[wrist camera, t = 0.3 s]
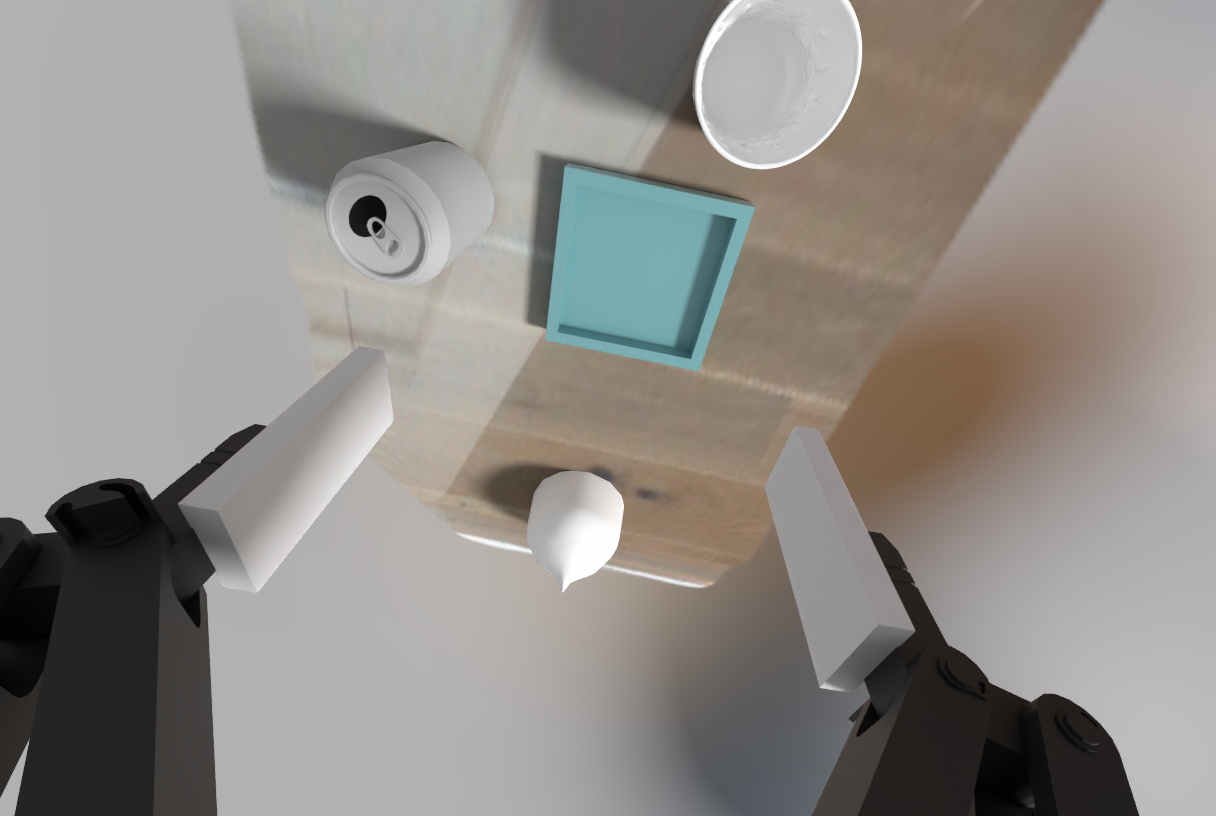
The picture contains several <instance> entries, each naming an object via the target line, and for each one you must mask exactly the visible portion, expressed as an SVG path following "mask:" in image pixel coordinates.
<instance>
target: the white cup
mask: <svg viewBox="0 0 1216 816" xmlns="http://www.w3.org/2000/svg"><path fill="white" fill-rule="evenodd" d="M861 60H862V40H861V32H860V27H859V23H858V20H857V17H856V14H855V12H854V9H853V7H852V5H851V4H850V2H849V0H732V1H731V2H730V3H729V4H728V5H727V6H726V8H725V9H724V10H723V11H722V13H721V14H720V15H719V17H718V18H717V20H716V21H715V23H714V24H713V26H712V28H711V30H710V31H709V33H708V35H707V38H706V40H705V42H704V44H703V46H702V48H701V50H700V53H699V56H698V59H697V62H696V66H695V70H694V76H693V102H694V107H695V111H696V115H697V118H698V120H699V122H700V124H701V127H702V129H703V131H704V133H705V135H706V137H707V139H708V140H709V142H710V143H711V144H712V146H713V147H714V148H715V149H716V150H717V151H718V152H719V153H720V154H721V155H722V156H724V157H725V158H726V159H728V160H729V161H731V162H733V163H735V164H738V165H740V166H743V167H747V168H753V169H770V168H776V167H780V166H784V165H787V164H789V163H792V162H794V161H796V160H798V159H800V158H802V157H803V156H805V155H807V154H808V153H809V152H811V151H812V150H814V149H815V148H816V147H817V146H818V145H819V144H821V143H822V142H823V141H824V140H825V139H826V138H827V137H828V136H829V134H830V133H831V132H832V131H833V130H834V128H835V127H836V126H837V124H838V123H839V121H840V120H841V118H842V117H843V115H844V113H845V112H846V110H847V108H848V106H849V104H850V102H851V99H852V97H853V94H854V92H855V89H856V86H857V82H858V78H859V74H860V68H861Z"/></svg>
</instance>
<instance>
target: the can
mask: <svg viewBox="0 0 1216 816" xmlns="http://www.w3.org/2000/svg"><path fill="white" fill-rule="evenodd" d="M494 210H495V209H494V193H493V190H492V187H491V184H490V181H489V178H488V176H487V175H486V173H485V172H484V170H483V168H482V167H481V165H480V164H479V162H478V161H477V160H475V159H474V158H473V157H472V156H471V155H470V154H469V153H468V152H466V151H465V150H464V149H462V148H459V147H457V146H455V145H453V144H451V143H447V142H439V141H431V142H427V143H423V144H419V145H415V146H411V147H407V148H402V149H398V150H394V151H390V152H386V153H382V154H378V155H374V156H370V157H366V158H362V159H358V160H355V161H351V162H349V163H348V164H347V165H346V166H345V167H343V168H342V169H341V170H340V171H339V172H338V173H337V174H336V176H335V178H334V180H333V183H332V185H331V187H330V189H329V194H328V197H327V199H326V201H325V221H326V225H327V229H328V233H329V236H330V238H331V239H332V241H333V243H334V245H335V247H336V249H337V250H338V252H339V253H340V254H341V255H342V256H343V258H344V259H345V260H346V261H347V262H348V263H349V264H350V265H351V266H352V267H353V268H355V269H356V270H357V271H359V272H360V273H362V274H363V275H364V276H366V277H369V278H371V279H374V280H376V281H378V282H381V283H389V284H398V285H406V286H411V285H416V284H421V283H425V282H427V281H428V280H430V279H431V278H433V277H434V276H436V275H437V274H439V273H440V272H441V271H442V270H443V269H445V268H446V267H447V266H448V265H449V264H450V263H451V262H453V261H454V260H455V259H456V258H457V257H458V256H460V255H461V254H462V253H463V252H464V251H465V250H467V249H468V248H469V247H470V246H471V245H472V244H474V243H475V242H476V241H477V240H478V239H479V238H481V237H482V236H483V235H484V233H485V232H486V230H487V229H488V227H489V226H490V225H491V221H492V218H493V214H494Z"/></svg>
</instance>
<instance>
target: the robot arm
mask: <svg viewBox="0 0 1216 816" xmlns="http://www.w3.org/2000/svg"><path fill="white" fill-rule="evenodd" d="M393 421H394V419H393V412H392V405H391V397H390V390H389V383H388V376H387V369H386V361H385V354H384V351H382V350H377V349H371V348H366V347H360V346H359V347H358V348H357V349H356V350H355V351H354V352H352V353H351V354H350V355H349V356H348V357H347V358H346V359H344V360H343V361H342V362H341V363H340V364H339V365H337V366H336V367H335V368H334V369H333V370H332V371H331V372H329V373H328V374H327V375H326V376H325V377H324V378H322V379H321V380H320V381H319V382H318V383H317V384H316V385H314V386H313V387H312V388H311V389H310V390H309V391H307V392H306V393H305V394H304V395H303V396H302V397H300V398H299V399H298V400H297V401H296V402H295V403H294V404H293V405H291V406H290V407H289V408H288V409H287V410H285V411H284V412H283V413H282V414H281V415H280V416H279V417H278V418H276V419H275V420H274V421H273V422H272V423H270V425H268V426H263V425H258V424H254V425H252V426H250V427H248V428H246V429H244V430H242V431H239V432H237V433H235V434H233V435H231V436H230V437H229V438H228V439H227V440H225V441H224V442H223V443H222V444H221V445H219V446H218V447H217V448H216V449H215V451H214V452H211V453H210V454H208V455H207V456H206V457H204V458H203V459H202V460H201V463H200V464H199V463H197V464H196V465H195V466H193V467H192V468H191V469H190V470H189V471H187V472H186V473H185V474H184V475H182V476H181V477H180V478H179V479H177V480H176V481H175V482H174V483H173V484H171V485H170V486H169V487H168V488H166V489H165V490H164V491H163V492H162V493H160V494H159V495H158V496H157V497H155V498H154V499H153V500H152V499H151V498H150V496H149V494H148V493H147V491H146V489H145V488H144V486H143V484H141V483H139V482H137V481H135V480H133V479H122V478H116V479H110V480H102V481H98V482H95V483H92V484H88V485H85V486H82V487H80V488H78V489H76V490H74V491H72V492H70V493H68V494H66V495H64V496H63V497H62V498H60V499H59V500H58V501H56V502H55V503H54V504H53V505H51V507H50V508H49V510H48V512H47V513H46V515H45V517H46V519H47V520H48V521H49V522H50V524H51V525H52V526H53V527H54V528H55V530H56V531H57V532H54V533H42V534H32V533H31V531H30V530H29V529H28V528H27V527H26V526H25V524H24V523H23V522H22V521H20V520H17V519H13V518H0V797H1V795H2V793H3V791H4V789H5V787H6V785H7V783H8V781H9V779H10V777H11V775H12V773H13V771H14V769H15V767H16V765H17V763H18V761H19V759H20V757H21V755H22V753H23V751H24V749H25V747H26V744H27V743H28V741H29V739H30V741H29V746H28V751H27V756H26V761H25V766H24V771H23V776H22V781H21V786H20V791H19V796H18V801H17V806H16V811H15V816H217V803H216V782H215V760H214V739H213V718H212V697H211V676H210V657H209V656H210V655H209V635H208V612H207V594H206V592H205V589H204V587H203V584H204V583H205V582H206V581H207V580H208V579H209V578H210V577H211V576H212V574H213V573H214V572H216V574H217V576H218V578H219V580H220V581H221V583H222V585H223V587H226V588H232V589H238V590H244V591H250V592H255V593H257V592H258V591H259V590H260V589H261V588H262V586H263V585H264V584H265V583H266V581H267V580H268V579H269V578H270V576H271V575H272V574H273V573H274V571H275V570H276V569H277V567H278V566H279V565H280V564H281V562H282V561H283V560H284V559H285V557H286V556H287V555H288V553H289V552H290V551H291V550H292V548H293V547H294V546H295V545H296V543H297V542H298V541H299V540H300V538H301V537H302V536H303V535H304V533H305V532H306V531H307V530H308V528H309V527H310V526H311V525H312V523H313V522H314V521H315V519H316V518H317V517H318V515H319V514H320V513H321V512H322V511H323V509H324V508H325V507H326V506H327V504H328V503H329V502H330V501H331V499H332V498H333V497H334V495H335V494H336V493H337V492H338V490H339V489H340V488H341V487H342V485H343V484H344V483H345V482H346V480H347V479H348V478H349V477H350V475H351V474H352V472H353V471H354V470H355V469H356V468H357V466H358V465H359V464H360V463H361V461H362V460H363V459H364V458H365V456H366V455H367V454H368V453H369V451H370V450H371V449H372V447H373V446H374V445H375V444H376V442H377V441H378V440H379V439H380V437H381V436H382V435H383V434H384V432H385V431H386V430H387V428H388V427H389V426H390V425H391V423H392V422H393ZM764 487H765V491H766V494H767V498H768V502H769V505H770V509H771V512H772V516H773V520H774V523H775V527H776V530H777V534H778V538H779V541H780V545H781V549H782V552H783V556H784V559H785V563H786V567H787V570H788V574H789V578H790V581H791V585H792V588H793V592H794V596H795V599H796V603H797V606H798V610H799V614H800V617H801V620H802V625H803V628H804V632H805V635H806V639H807V643H808V646H809V650H810V654H811V657H812V661H813V664H814V668H815V672H816V675H817V679H818V682H819V686H820V688H825V689H831V690H837V691H843V692H849V693H852V692H853V691H854V690H855V689H856V688H857V687H858V686H859V685H861V683H863V682H864V681H865V683H866V686H867V689H868V692H869V694H870V699H869V700H867V701H866V702H865V703H864V704H863V705H862V706H861V707H860V708H859V709H858V710H856V711H855V712H854V713H853V714H852V715H851V716H850V717H849V719H850V720H851V721H852V722H854V721H855V720H856V723H855V725H854V727H853V729H852V731H851V733H850V735H849V737H848V739H847V741H846V744H845V746H844V748H843V750H842V752H841V755H840V757H839V758H838V761H837V763H836V765H835V767H834V769H833V771H832V773H831V776H830V778H829V780H828V782H827V784H826V786H825V788H824V790H823V793H822V795H821V797H820V799H819V801H818V803H817V805H816V808H815V810H814V812H813V814H812V816H1139V813H1138V810H1137V807H1136V804H1135V801H1134V798H1133V794H1132V791H1131V788H1130V786H1129V782H1128V779H1127V776H1126V772H1125V769H1124V767H1123V763H1122V760H1121V757H1120V754H1119V752H1118V750H1117V748H1116V746H1115V744H1114V742H1113V740H1112V738H1111V737H1110V736H1109V734H1108V733H1107V732H1106V731H1105V729H1104V728H1103V727H1102V726H1101V725H1100V723H1099V722H1098V721H1097V720H1095V719H1094V718H1093V717H1092V716H1091V715H1090V714H1089V713H1088V712H1087V711H1085V710H1084V709H1083V708H1081V707H1080V706H1078V705H1077V704H1075V703H1074V702H1072V701H1070V700H1069V699H1066V698H1064V697H1061V696H1059V695H1056V694H1043V695H1042V696H1040V697H1038V698H1037V699H1035V700H1034V701H1032V702H1029V701H1027V700H1025V699H1023V698H1021V697H1018V696H1016V695H1014V694H1012V693H1010V692H1008V691H1006V690H1004V689H1001V688H999V687H997V686H995V685H993V684H991V683H989V681H988V679H987V677H986V676H985V675H984V673H983V672H982V671H981V670H980V668H979V667H978V666H977V665H976V664H975V663H974V662H973V661H972V660H971V659H969V658H968V657H967V656H966V655H965V654H963V653H962V652H960V651H958V650H956V649H955V648H953V647H951V646H948V644H947V643H946V641H945V639H944V637H943V635H942V633H941V631H940V630H939V628H938V626H937V624H936V622H935V620H934V618H933V616H932V614H931V612H930V610H929V609H928V607H927V605H926V603H925V601H924V599H923V597H922V595H921V593H920V592H919V590H918V588H917V587H915V582H914V580H913V578H912V577H911V574H910V573H909V572H907V567H906V565H905V563H904V561H903V559H902V557H901V556H900V554H899V552H898V550H897V549H896V548H895V547H894V546H893V545H892V544H891V543H890V542H889V541H888V540H887V538H886V537H885V536H884V535H883V534H881V533H876V532H869V531H867V529H866V527H865V525H864V523H863V521H862V519H861V517H860V515H859V513H858V510H857V508H856V506H855V504H854V502H853V500H852V498H851V496H850V494H849V492H848V490H847V488H846V486H845V483H844V481H843V480H842V477H841V475H840V473H839V471H838V469H837V467H836V465H835V463H834V461H833V459H832V457H831V454H830V452H829V450H828V448H827V446H826V444H825V442H824V440H823V438H822V436H821V434H820V432H819V430H818V429H813V428H807V427H802V426H796V425H795V426H794V428H793V430H792V432H791V434H790V436H789V438H788V440H787V442H786V444H785V446H784V448H783V450H782V452H781V454H780V456H779V458H778V460H777V462H776V464H775V466H774V468H773V470H772V472H771V474H770V476H769V478H768V480H767V482H766V484H765V486H764Z"/></svg>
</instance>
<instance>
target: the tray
mask: <svg viewBox="0 0 1216 816" xmlns="http://www.w3.org/2000/svg"><path fill="white" fill-rule="evenodd" d="M754 210H755V207H754V205H753V204H752V203H751V202H750V201H745V200H741V199H736V198H731V197H727V196H722V195H717V194H713V193H708V192H704V191H699V190H694V189H690V188H685V187H680V186H676V185H671V184H666V183H662V182H657V181H653V180H648V179H643V178H639V177H634V176H629V175H625V174H620V173H615V172H611V171H606V170H601V169H597V168H592V167H588V166H583V165H578V164H574V163H568V164H567V165H566V166H565V168H564V177H563V186H562V195H561V204H560V213H559V221H558V230H557V239H556V248H555V257H554V266H553V275H552V284H551V293H550V302H549V311H548V320H547V329H546V338H545V340H547V341H552V342H557V343H562V344H567V345H572V346H577V347H582V348H587V349H592V350H597V351H602V352H607V353H612V354H617V355H622V356H627V357H632V358H637V359H642V360H647V361H651V362H656V363H661V364H666V365H671V366H676V367H681V368H686V369H691V370H696V371H699V369H700V366H701V363H702V360H703V357H704V354H705V351H706V349H707V346H708V343H709V340H710V337H711V334H712V331H713V328H714V325H715V322H716V320H717V317H718V314H719V311H720V308H721V305H722V302H723V299H724V296H725V294H726V291H727V288H728V285H729V282H730V279H731V276H732V273H733V270H734V267H735V265H736V262H737V259H738V256H739V253H740V250H741V247H742V244H743V241H744V239H745V236H746V233H747V230H748V227H749V224H750V221H751V218H752V215H753V212H754Z"/></svg>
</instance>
